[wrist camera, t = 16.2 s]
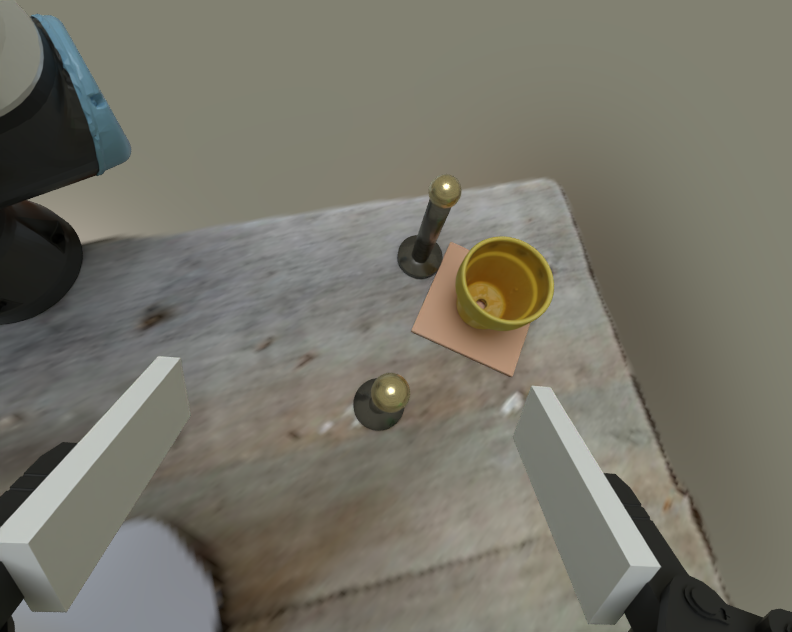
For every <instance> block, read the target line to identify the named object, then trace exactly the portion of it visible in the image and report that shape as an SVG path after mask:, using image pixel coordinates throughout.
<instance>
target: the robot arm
mask: <svg viewBox="0 0 792 632" xmlns="http://www.w3.org/2000/svg"><path fill="white" fill-rule="evenodd" d="M130 155H131V146H130V143H129V141H128V139H127V137H126V135H125V134H124V132H123V130H122V128H121V126H120V125H119V123H118V121H117V119H116V118H115V116H114V114H113V112H112V110H111V109H110V107H109V105H108V103H107V101H106V100H105V98H104V96H103V94H102V92H101V91H100V89H99V87H98V85H97V84H96V82H95V80H94V78H93V76H92V75H91V73H90V71H89V69H88V68H87V66H86V64H85V62H84V60H83V59H82V57H81V55H80V53H79V51H78V50H77V48H76V46H75V44H74V43H73V41H72V39H71V37H70V36H69V34H68V32H67V30H66V28H65V27H64V25H63V23H62V22H61V21H60V20H59V19H58V18H56V17H53V16H51V15H44V16H42V15H39V14H36V15H31V17H29V15H28V14H27V13H26V12H25V11H24V10H23V8H22V7H21V6H20V5H19V4H18V3H17V2H16V1H15V0H0V324H8V323H14V322H18V321H22V320H25V319H28V318H30V317H33V316H35V315H37V314H39V313H41V312H43V311H45V310H46V309H48V308H49V307H51V306H52V305H53V304H55V303H56V302H57V301H58V300H59V299H61V298H62V297H63V296H64V295H65V293H66V292H67V291H68V290H69V289H70V287H71V286H72V284H73V283H74V281H75V279H76V277H77V275H78V273H79V270H80V267H81V262H82V247H81V243H80V240H79V237H78V235H77V233H76V232H75V230H74V229H73V228H72V227H71V225H69V223H67V222H66V221H65V220H64V219H62V218H61V217H59V216H58V215H56V214H55V213H54V212H52V211H51V210H49V209H48V208H46V207H44V206H42V205H39V204H37V203H34V202H31V201H28V199H30V198H33V197H36V196H39V195H42V194H45V193H47V192H50V191H53V190H56V189H59V188H61V187H65V186H67V185H70V184H73V183H76V182H79V181H81V180H84V179H87V178H90V177H93V176H99V175H102V174H103V173H104V172H105V170H108V169H110V168H112V167H115V166H117V165H119V164H122V163H123V162H125V161H127V160H128V159H129V157H130ZM190 416H191V414H190V409H189V403H188V397H187V391H186V386H185V380H184V374H183V369H182V363H181V358H174V357H162V356H158V357H157V358H156V359H155V360H154V361H153V363H152V364H151V365H150V366H149V367H148V368H147V369H146V370H145V371H144V372H143V373H142V375H141V376H140V377H139V378H138V379H137V380H136V381H135V382H134V383H133V384H132V385H131V386H130V388H129V389H128V390H127V391H126V392H125V393H124V394H123V395H122V396H121V397H120V398H119V399H118V401H117V402H116V403H115V404H114V405H113V406H112V407H111V408H110V409H109V410H108V411H107V412H106V414H105V415H104V416H103V417H102V418H101V419H100V420H99V421H98V422H97V423H96V424H95V426H94V427H93V428H92V429H91V430H90V431H89V432H88V433H87V434H86V435H85V436H84V437H83V439H82V440H81V441H80V442H79V443H67V442H63V443H61V444H59V445H58V446H56V447H55V448H53V449H51V450H50V451H48V452H47V453H45V454H44V455H42V456H41V457H40V458H39V459H38V460H37V461H36V462H35V463H34V464H33V465H32V466H31V467H30V468H29V469H28V470H27V471H26V472H25V473H24V475H23V476H22V477H20V478H19V479H18V480H17V481H16V482H15V483H14V484H13V485H12V486H11V487H10V490H9V491H6V492H5V493H4V494H3V495H2V496H1V497H0V632H15V625H14V621H13V618H12V616H11V615H12V614H13V612H14V611H15V610H16V608H17V607H18V606H19V604H20V603H21V602H22V600H23V599H24V600H25V602H26V603H27V605H28V606H29V608H30V609H31V611H33V612H34V611H35V612H67V611H68V609H69V607H70V606H71V604H72V603H73V601H74V599H75V598H76V596H77V595H78V593H79V592H80V590H81V588H82V587H83V585H84V584H85V582H86V581H87V579H88V577H89V576H90V574H91V573H92V571H93V569H94V568H95V566H96V565H97V563H98V561H99V560H100V558H101V557H102V555H103V554H104V552H105V550H106V549H107V547H108V546H109V544H110V543H111V541H112V539H113V538H114V536H115V535H116V533H117V532H118V530H119V528H120V527H121V525H122V524H123V522H124V520H125V519H126V517H127V516H128V514H129V513H130V511H131V509H132V508H133V506H134V505H135V503H136V502H137V500H138V498H139V497H140V495H141V494H142V492H143V490H144V489H145V487H146V486H147V484H148V483H149V481H150V479H151V478H152V476H153V475H154V473H155V471H156V470H157V468H158V467H159V465H160V464H161V462H162V460H163V459H164V457H165V456H166V454H167V453H168V451H169V449H170V448H171V446H172V445H173V443H174V441H175V440H176V438H177V437H178V435H179V434H180V432H181V430H182V429H183V427H184V426H185V424H186V422H187V421H188V419H189V418H190ZM513 439H514V442H515V444H516V447H517V449H518V452H519V454H520V457H521V459H522V461H523V464H524V466H525V469H526V471H527V474H528V476H529V479H530V481H531V484H532V486H533V489H534V491H535V494H536V496H537V499H538V501H539V504H540V506H541V508H542V511H543V513H544V516H545V518H546V521H547V523H548V526H549V528H550V531H551V533H552V536H553V538H554V541H555V543H556V546H557V548H558V551H559V553H560V555H561V558H562V560H563V563H564V565H565V568H566V570H567V573H568V575H569V578H570V580H571V583H572V585H573V588H574V590H575V593H576V595H577V598H578V600H579V602H580V605H581V607H582V610H583V612H584V615H585V617H586V620H587V622H588V624H610V625H615V624H616V623H617V622H618V620H619V619H620V618H621V617H622V615H623V614H624V613H625V615H626V617H627V619H628V621H629V624H630V626H631V628H630V630H629V631H628V632H792V612H790V611H786V610H783V609H775V610H771V611H770V612H769V613H768V614H767V615H766V616H765V617H760V616H757V615H754V614H752V613H749V612H746V611H744V610H741V609H738V608H735V607H733V606H730V605H728V604H726V603H725V602H724V601H723V600H722V599H721V597H720V596H719V595H718V594H717V593H716V592H715V591H714V590H713V589H711V588H710V587H709V586H707V585H706V584H705V583H703V582H702V581H700V580H698V579H695V578H693V577H691V576H689V575H688V573H687V572H686V571H685V569H684V568H683V566H682V565H681V563H680V562H679V560H678V559H677V557H676V556H675V554H674V553H673V551H672V550H671V548H670V547H669V545H668V544H667V542H666V541H665V539H664V538H663V536H662V535H661V533H660V532H659V530H658V529H657V527H656V526H655V524H654V523H653V521H651V520H650V517H649V515H648V514H647V512H646V511H645V509H644V508H643V507H641V503H640V502H639V500H638V499H637V497H636V496H635V494H634V493H633V491H632V490H631V488H630V487H629V486H628V485H627V484H626V483H625V482H623V481H622V480H621V479H620V478H619V477H618V476H617V475H616V474H608V473H603V472H602V470H601V469H600V467H599V466H598V464H597V462H596V461H595V459H594V457H593V456H592V454H591V453H590V451H589V449H588V448H587V446H586V444H585V443H584V441H583V440H582V438H581V436H580V435H579V433H578V431H577V430H576V428H575V427H574V425H573V423H572V422H571V420H570V418H569V417H568V415H567V414H566V412H565V410H564V409H563V407H562V405H561V404H560V402H559V401H558V399H557V397H556V396H555V394H554V392H553V391H552V389H551V388H550V387H541V386H531V388H530V391H529V394H528V397H527V399H526V402H525V405H524V408H523V410H522V413H521V416H520V419H519V421H518V424H517V427H516V429H515V432H514V435H513Z"/></svg>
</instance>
